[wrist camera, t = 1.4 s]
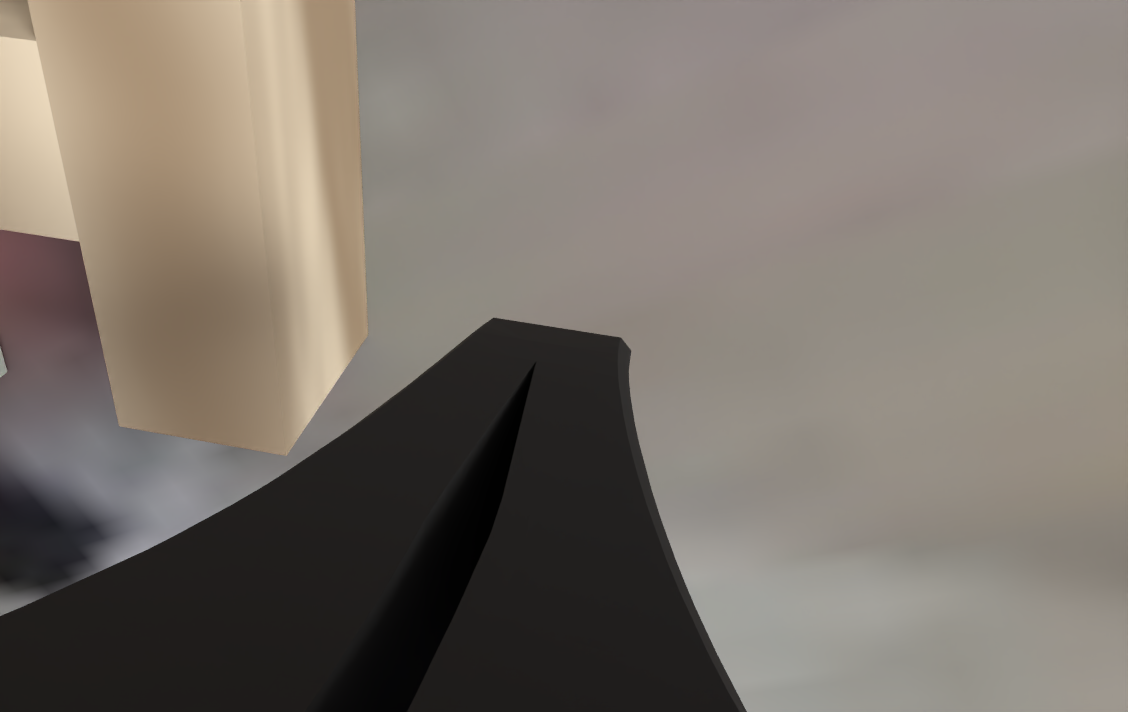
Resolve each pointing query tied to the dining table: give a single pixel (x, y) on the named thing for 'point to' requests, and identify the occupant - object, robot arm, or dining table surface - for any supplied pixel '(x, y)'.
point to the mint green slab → (2, 365)
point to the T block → (197, 198)
